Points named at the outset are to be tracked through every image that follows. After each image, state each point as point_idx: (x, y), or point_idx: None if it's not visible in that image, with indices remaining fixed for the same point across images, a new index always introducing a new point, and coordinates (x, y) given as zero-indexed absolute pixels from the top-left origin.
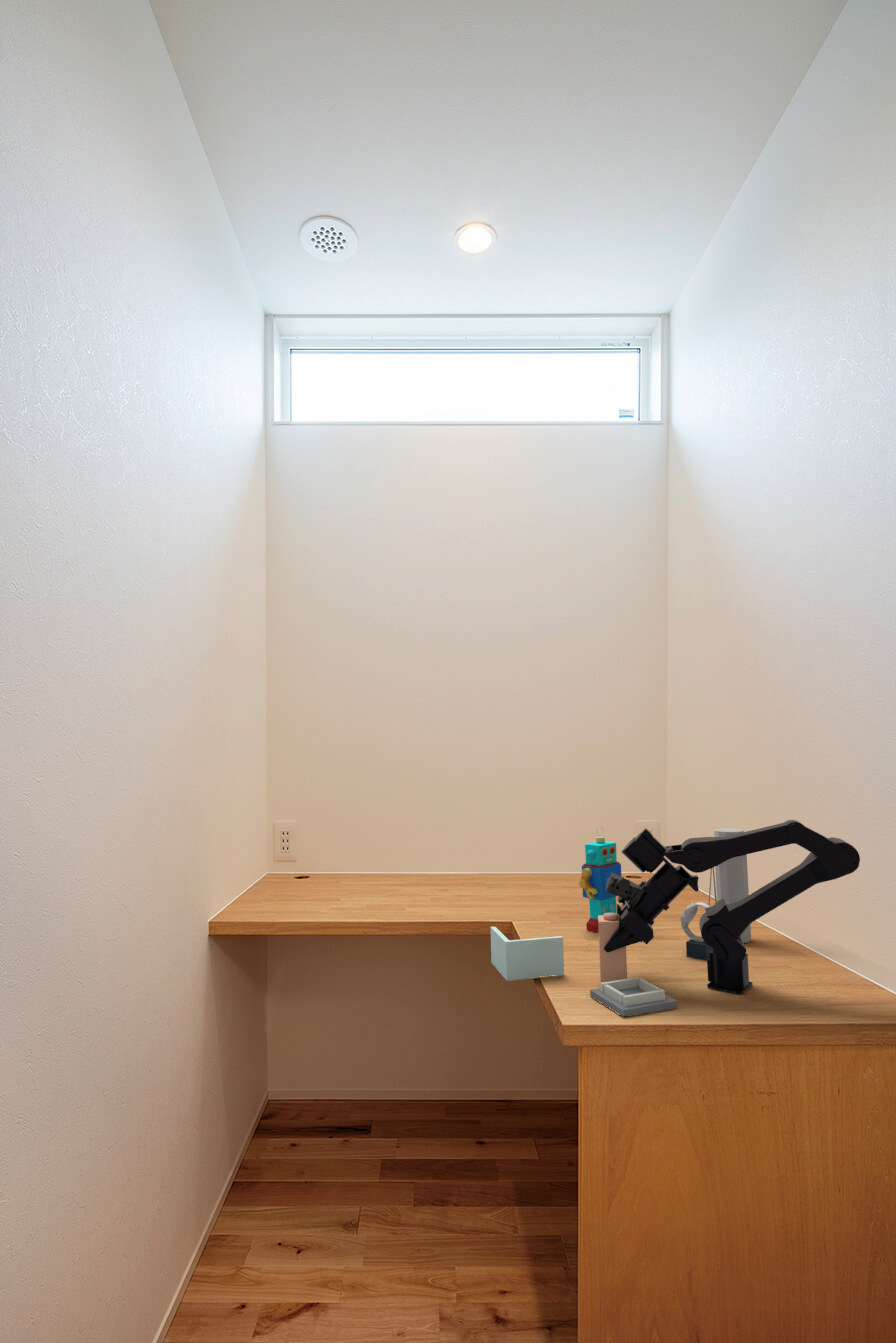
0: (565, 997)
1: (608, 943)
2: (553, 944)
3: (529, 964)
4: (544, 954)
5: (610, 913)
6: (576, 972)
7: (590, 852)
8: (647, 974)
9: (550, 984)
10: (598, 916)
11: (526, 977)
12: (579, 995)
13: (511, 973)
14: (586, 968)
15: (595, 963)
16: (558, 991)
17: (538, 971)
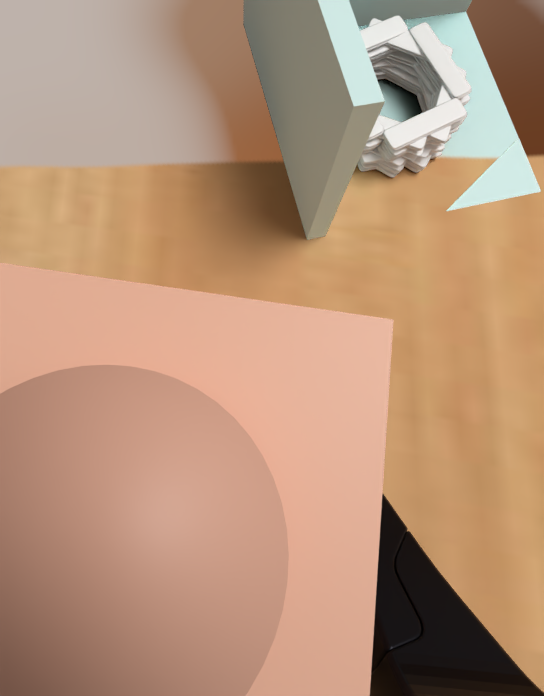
0: (20, 208)
1: None
2: (324, 83)
3: (272, 51)
4: (296, 80)
5: (206, 560)
6: (348, 297)
7: None
8: None
9: (190, 171)
10: (314, 313)
11: (263, 87)
12: (37, 267)
13: (248, 13)
14: (407, 349)
15: (485, 403)
16: (99, 191)
17: (278, 117)
